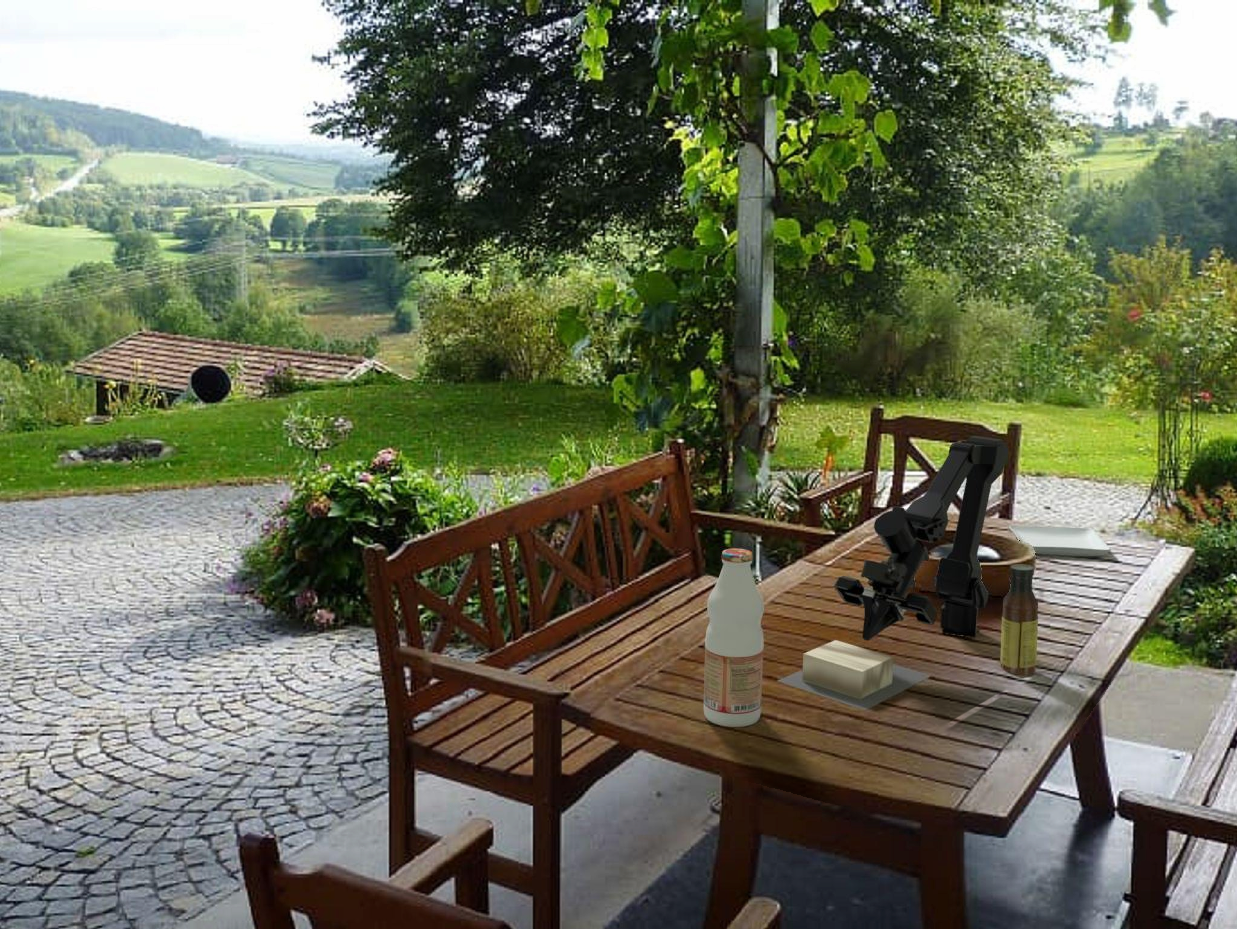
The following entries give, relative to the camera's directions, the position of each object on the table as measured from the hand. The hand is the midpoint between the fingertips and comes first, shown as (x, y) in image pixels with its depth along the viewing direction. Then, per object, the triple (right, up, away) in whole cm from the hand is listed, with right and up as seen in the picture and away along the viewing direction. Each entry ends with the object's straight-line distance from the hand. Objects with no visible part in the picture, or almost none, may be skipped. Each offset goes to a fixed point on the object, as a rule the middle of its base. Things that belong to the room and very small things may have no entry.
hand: (865, 639), depth 208 cm
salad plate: (+68, +9, +91) cm, 114 cm away
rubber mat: (-2, -7, 0) cm, 8 cm away
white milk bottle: (-25, -11, -16) cm, 32 cm away
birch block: (0, -4, +1) cm, 4 cm away
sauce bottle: (+29, -7, +5) cm, 30 cm away
